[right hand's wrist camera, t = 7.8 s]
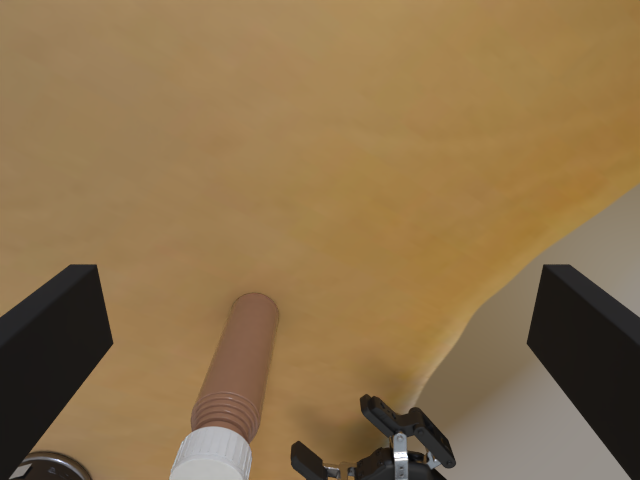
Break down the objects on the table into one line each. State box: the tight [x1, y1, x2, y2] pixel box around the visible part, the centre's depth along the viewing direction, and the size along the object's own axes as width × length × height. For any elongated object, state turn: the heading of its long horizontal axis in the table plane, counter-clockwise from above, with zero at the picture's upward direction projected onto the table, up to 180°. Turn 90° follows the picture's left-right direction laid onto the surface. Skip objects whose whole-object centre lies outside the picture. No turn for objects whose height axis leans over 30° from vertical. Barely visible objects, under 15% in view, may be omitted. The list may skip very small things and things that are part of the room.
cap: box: [169, 426, 252, 480], centre depth 25 cm, size 4×4×2 cm
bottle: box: [191, 293, 279, 444], centre depth 33 cm, size 5×5×19 cm
